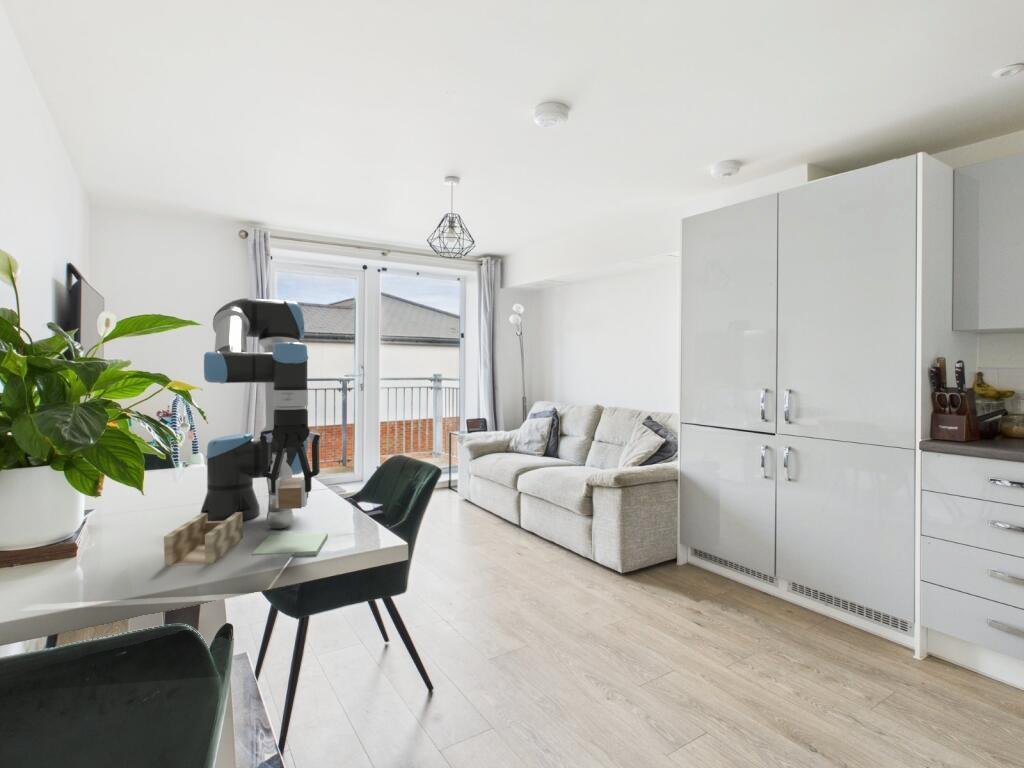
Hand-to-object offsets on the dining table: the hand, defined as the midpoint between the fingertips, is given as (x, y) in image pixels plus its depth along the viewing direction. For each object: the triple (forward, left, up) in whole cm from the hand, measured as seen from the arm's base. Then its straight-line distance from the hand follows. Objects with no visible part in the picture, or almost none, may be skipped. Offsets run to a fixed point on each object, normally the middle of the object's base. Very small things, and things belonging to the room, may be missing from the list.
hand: (291, 505), depth 131 cm
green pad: (0, 0, -10) cm, 10 cm away
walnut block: (-3, 0, 0) cm, 3 cm away
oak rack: (+2, -18, -10) cm, 21 cm away
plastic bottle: (-17, -7, -10) cm, 21 cm away
